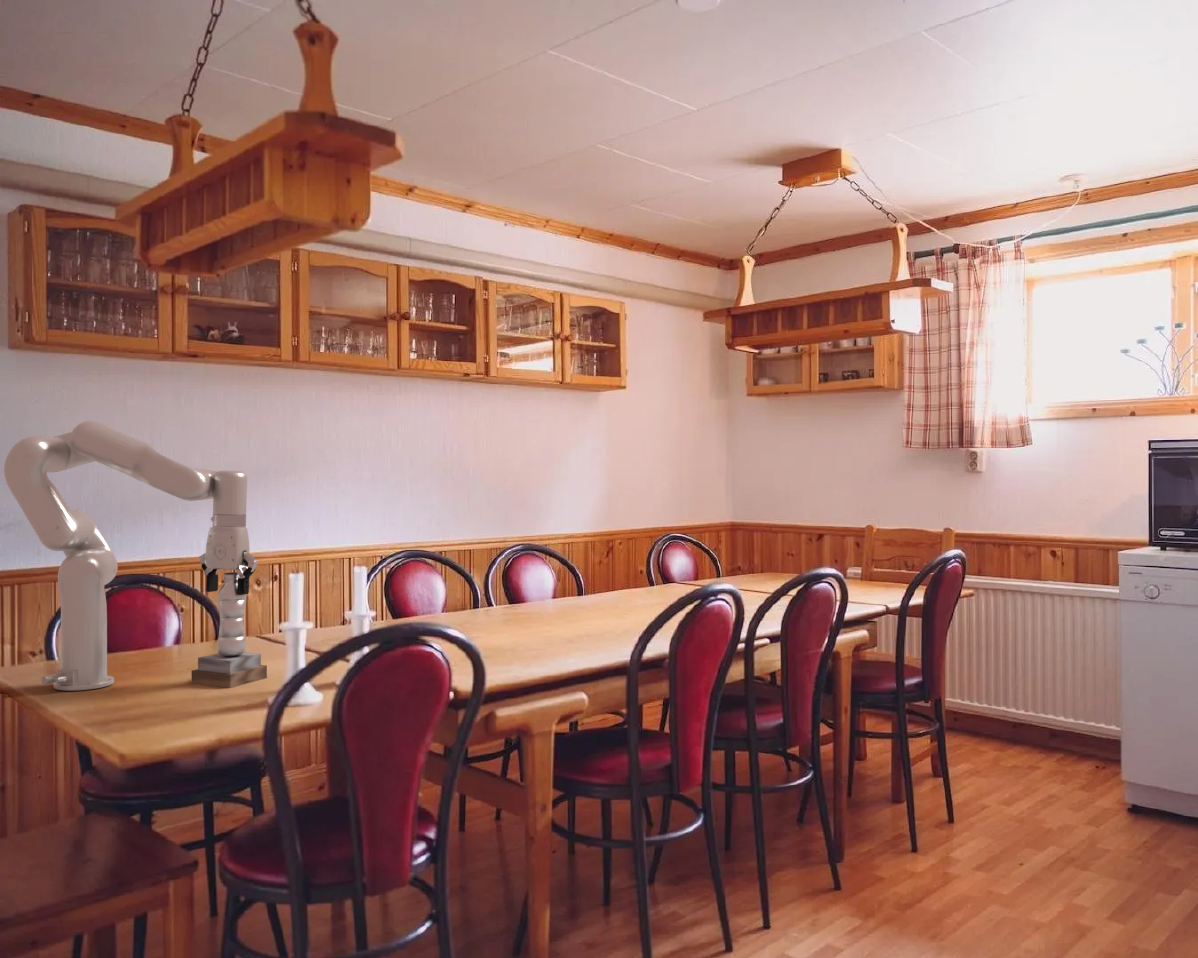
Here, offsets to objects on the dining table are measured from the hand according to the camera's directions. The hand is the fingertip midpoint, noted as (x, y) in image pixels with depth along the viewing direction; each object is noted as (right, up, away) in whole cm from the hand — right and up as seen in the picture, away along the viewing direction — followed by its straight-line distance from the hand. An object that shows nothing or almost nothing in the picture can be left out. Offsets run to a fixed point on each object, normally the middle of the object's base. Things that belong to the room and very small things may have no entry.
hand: (227, 592), depth 231 cm
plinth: (0, -21, 0) cm, 21 cm away
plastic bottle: (+1, -15, 0) cm, 15 cm away
